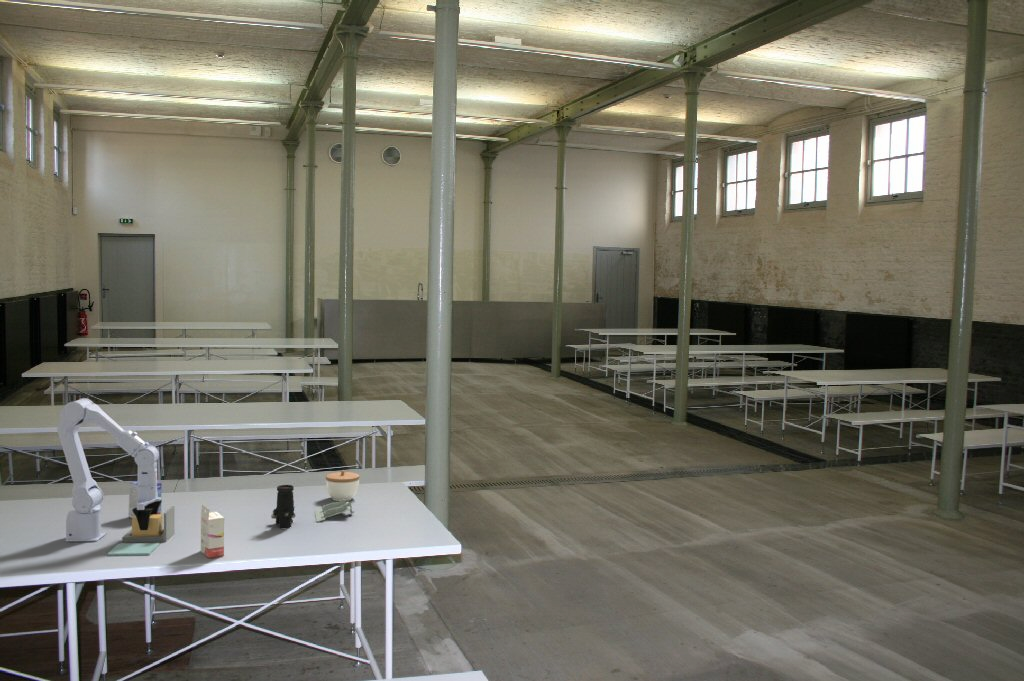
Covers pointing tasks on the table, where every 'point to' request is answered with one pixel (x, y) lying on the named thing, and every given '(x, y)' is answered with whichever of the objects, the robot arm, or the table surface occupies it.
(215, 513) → the ink cartridge box
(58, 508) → the table surface
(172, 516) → the grey angular piece
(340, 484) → the lidded bowl
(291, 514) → the scope
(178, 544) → the table surface
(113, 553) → the teal pad
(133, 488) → the ink cartridge box
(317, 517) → the metal bracket
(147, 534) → the orange rectangular block
